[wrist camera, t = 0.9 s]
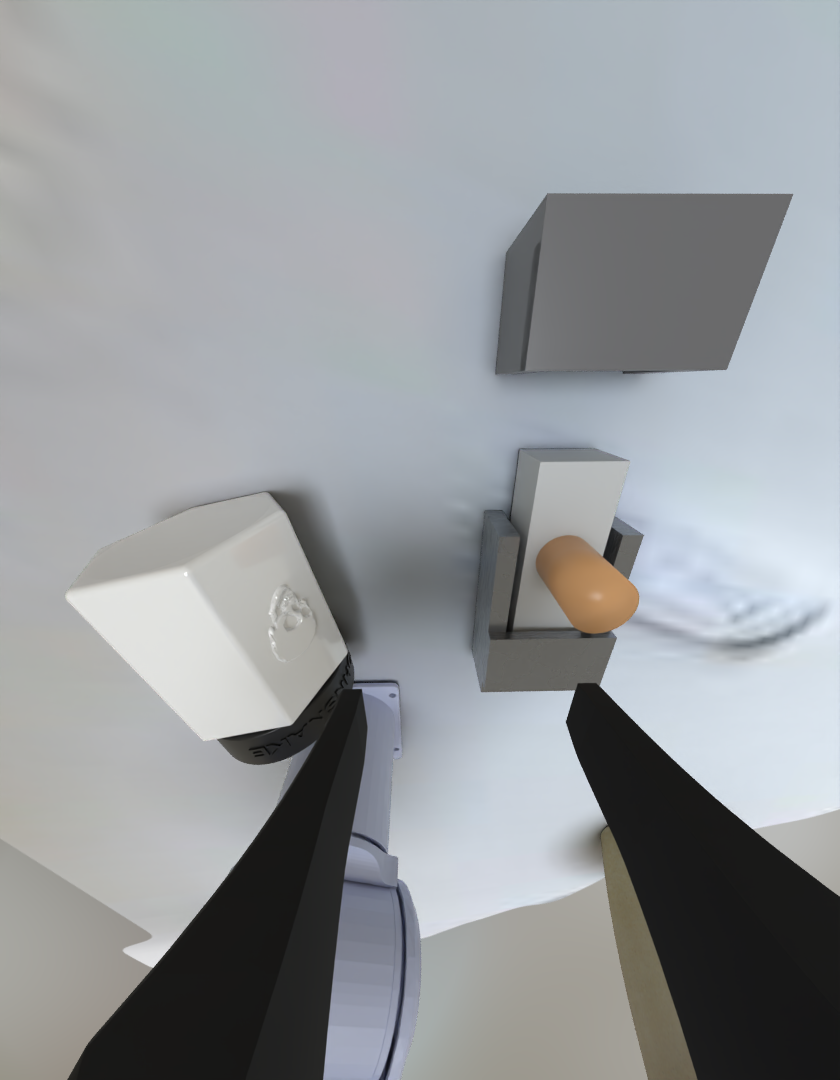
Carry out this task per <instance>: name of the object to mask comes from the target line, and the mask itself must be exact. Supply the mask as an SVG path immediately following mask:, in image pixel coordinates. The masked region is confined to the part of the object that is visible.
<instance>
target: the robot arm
mask: <svg viewBox="0 0 840 1080" xmlns="http://www.w3.org/2000/svg"><path fill="white" fill-rule="evenodd" d="M566 724H567V727H568V730H569V733H570V736H571V740H572V742H573V745H574V748H575V751H576V754H577V757H578V759H579V761H580V764H581V766H582V768H583V771H584V773H585V775H586V777H587V780H588V782H589V784H590V786H591V788H592V791H593V793H594V795H595V797H596V799H597V802H598V804H599V806H600V808H601V810H602V813H603V815H604V817H605V819H606V822H607V824H608V826H609V828H610V830H611V833H612V835H613V837H614V839H615V841H616V844H617V846H618V848H619V851H620V853H621V856H622V858H623V860H624V863H625V866H626V868H627V871H628V874H629V876H630V879H631V882H632V885H633V887H634V890H635V893H636V895H637V898H638V901H639V904H640V906H641V909H642V912H643V915H644V918H645V920H646V923H647V926H648V929H649V932H650V935H651V938H652V940H653V943H654V946H655V949H656V952H657V955H658V958H659V961H660V964H661V967H662V970H663V973H664V976H665V979H666V982H667V985H668V988H669V991H670V994H671V997H672V1000H673V1003H674V1006H675V1009H676V1012H677V1015H678V1018H679V1021H680V1025H681V1028H682V1031H683V1034H684V1038H685V1041H686V1044H687V1047H688V1051H689V1054H690V1057H691V1060H692V1064H693V1067H694V1070H695V1073H696V1077H697V1080H840V897H839V896H838V895H837V894H835V893H834V892H832V891H831V890H830V889H828V888H827V887H826V886H825V885H823V884H822V883H821V882H819V881H818V880H817V879H815V878H814V877H813V876H811V875H810V874H809V873H808V872H806V871H805V870H804V869H802V868H801V867H800V866H798V865H797V864H795V863H794V862H793V861H792V860H791V859H789V858H788V857H787V856H785V855H784V854H783V853H781V852H780V851H779V850H777V849H776V848H775V847H774V846H772V845H771V844H770V843H769V842H767V841H766V840H765V839H764V838H762V837H761V836H760V835H759V834H758V833H756V832H755V831H754V830H753V829H752V828H750V827H749V826H748V825H747V824H745V823H744V822H743V821H742V820H741V819H739V818H738V817H737V816H736V815H735V814H733V813H732V812H731V811H730V810H729V809H727V808H726V807H725V806H724V805H723V804H722V803H720V802H719V801H718V800H717V799H716V798H715V797H714V796H712V795H711V794H710V793H709V792H708V791H707V790H706V789H704V788H703V787H702V786H701V785H700V784H699V783H698V782H697V781H696V780H695V779H693V778H692V777H691V776H690V775H689V774H688V773H687V772H686V771H685V770H684V769H683V768H681V767H680V766H679V765H678V764H677V763H676V762H675V761H674V760H673V759H672V758H671V757H670V756H669V755H668V754H667V753H666V752H665V751H664V750H663V749H662V748H660V747H659V746H658V745H657V744H656V743H655V742H654V741H653V740H652V739H651V738H650V737H649V736H648V735H647V734H646V733H645V732H644V731H643V730H642V729H641V728H640V727H639V726H638V725H637V724H636V723H635V722H634V721H633V720H632V719H631V718H630V717H629V716H628V715H627V714H626V713H625V712H624V711H623V710H622V709H621V708H620V707H619V706H618V705H617V704H616V703H615V702H614V701H613V700H612V698H611V697H610V696H609V695H608V694H607V693H606V692H605V691H604V690H603V689H602V688H601V687H600V686H599V685H598V684H597V683H578V684H577V687H576V690H575V694H574V697H573V700H572V704H571V707H570V710H569V713H568V717H567V720H566ZM401 757H402V738H401V719H400V700H399V686H398V685H397V684H396V683H354V684H353V688H352V689H343V690H342V691H341V692H340V694H339V697H338V699H337V701H336V703H335V706H334V708H333V710H332V712H331V714H330V716H329V718H328V720H327V722H326V724H325V726H324V728H323V729H322V731H321V733H320V735H319V737H318V739H317V740H316V741H315V742H314V743H313V744H311V745H310V746H308V747H307V748H305V749H304V750H302V751H301V752H299V753H297V754H295V755H293V757H292V760H291V763H290V766H289V769H288V772H287V775H286V778H285V781H284V784H283V788H282V791H281V794H280V797H279V800H278V803H277V806H276V808H275V810H274V811H273V813H272V814H271V816H270V817H269V819H268V820H267V822H266V823H265V825H264V826H263V828H262V829H261V830H260V832H259V833H258V835H257V836H256V838H255V839H254V840H253V842H252V843H251V845H250V846H249V847H248V849H247V850H246V851H245V853H244V854H243V855H242V857H241V858H240V860H239V861H238V862H237V864H236V865H235V866H234V867H233V868H232V869H231V870H230V872H229V874H228V876H227V877H226V878H225V880H224V881H223V882H222V884H221V885H220V886H219V888H218V889H217V890H216V892H215V893H214V894H213V895H212V897H211V898H210V899H209V900H208V902H207V903H206V904H205V905H204V907H203V908H202V909H201V910H200V912H199V913H198V914H197V915H196V917H195V918H194V919H193V920H192V921H191V923H190V924H189V925H188V926H187V928H186V929H185V930H184V931H183V933H182V934H181V935H180V936H179V938H178V939H177V940H176V941H175V943H174V944H173V945H172V946H171V947H170V949H169V950H168V951H167V952H166V953H165V955H164V956H163V957H162V958H161V959H160V961H159V962H158V963H157V964H156V965H155V967H154V968H153V969H152V970H151V971H150V972H149V974H148V975H147V976H146V977H145V978H144V979H143V981H142V982H141V983H140V984H139V985H138V986H137V987H136V988H135V990H134V991H133V992H132V993H131V994H130V995H129V996H128V998H127V999H126V1000H125V1001H124V1002H123V1003H122V1005H121V1006H120V1007H119V1008H118V1009H117V1010H116V1011H115V1013H114V1014H113V1015H112V1016H111V1017H110V1018H109V1020H108V1021H107V1022H106V1023H105V1024H104V1025H103V1027H102V1028H101V1029H100V1030H99V1031H98V1032H97V1033H96V1035H95V1036H94V1037H93V1038H92V1039H91V1041H90V1042H89V1043H88V1045H87V1046H86V1048H85V1050H84V1051H83V1053H82V1055H81V1057H80V1058H79V1060H78V1062H77V1064H76V1065H75V1067H74V1069H73V1071H72V1072H71V1074H70V1076H69V1078H68V1080H401V1077H402V1073H403V1069H404V1065H405V1062H406V1059H407V1056H408V1054H409V1050H410V1047H411V1043H412V1040H413V1036H414V1031H415V1026H416V1021H417V1014H418V1006H419V997H420V985H421V943H420V942H421V941H420V930H419V923H418V918H417V913H416V909H415V906H414V904H413V901H412V898H411V894H410V892H409V890H408V887H407V885H406V884H405V883H404V882H403V881H402V880H400V879H397V877H398V858H397V857H396V856H391V855H389V854H388V841H389V823H390V805H391V787H392V769H393V759H400V758H401Z"/></svg>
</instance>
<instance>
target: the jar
mask: <svg viewBox="0 0 840 1080" xmlns="http://www.w3.org/2000/svg"><path fill="white" fill-rule="evenodd" d="M65 598H66V600H67V601H68V602H69V603H70V604H71V605H72V606H73V607H74V608H75V609H76V611H77V612H78V613H79V614H80V615H81V616H82V617H83V618H84V619H85V620H86V621H87V622H88V623H89V624H90V625H91V626H92V627H93V628H94V629H95V630H96V631H97V632H98V633H99V634H100V635H101V636H102V637H103V638H104V639H105V640H106V641H107V643H108V644H109V645H110V646H111V647H112V648H113V649H114V650H115V651H116V652H117V653H118V654H119V655H120V656H121V657H122V658H123V659H124V660H125V661H126V662H127V663H128V664H129V665H130V666H131V667H132V668H133V669H134V670H135V671H136V672H137V673H138V675H139V676H140V677H141V678H142V679H143V680H144V681H145V682H146V683H147V684H148V685H149V686H150V687H151V688H152V689H153V690H154V691H155V692H156V693H157V694H158V695H159V696H160V697H161V698H162V699H163V700H164V701H165V702H166V703H167V704H168V706H169V707H170V708H171V709H172V710H173V711H174V712H175V713H176V714H177V715H178V716H179V717H180V718H181V719H182V720H183V721H184V722H185V723H186V724H187V725H188V726H189V727H190V728H191V729H192V730H193V731H194V732H195V733H196V734H197V735H198V737H199V738H200V739H201V740H203V741H209V740H215V739H217V740H218V741H219V742H220V743H221V744H222V746H223V747H224V748H225V749H226V750H227V751H228V752H229V753H230V754H231V755H232V756H233V757H234V758H236V759H237V760H239V761H241V762H244V763H247V764H253V765H262V764H270V763H275V762H278V761H281V760H284V759H286V758H289V757H291V756H293V755H295V754H297V753H299V752H301V751H302V750H304V749H305V748H307V747H308V746H310V745H311V744H313V743H314V742H315V741H316V740H317V739H318V737H319V735H320V733H321V731H322V729H323V728H324V726H325V724H326V722H327V720H328V718H329V716H330V714H331V712H332V710H333V708H334V706H335V703H336V701H337V699H338V697H339V694H340V692H341V691H342V690H343V689H352V688H353V684H354V666H353V663H352V660H351V657H350V656H351V655H350V653H349V650H348V648H347V646H346V643H344V640H343V638H342V636H341V634H340V631H339V629H338V627H337V625H336V623H335V620H334V618H333V616H332V614H331V611H330V609H329V607H328V605H327V603H326V600H325V598H324V596H323V594H322V591H321V589H320V587H319V585H318V583H317V580H316V578H315V576H314V574H313V571H312V569H311V567H310V565H309V562H308V560H307V558H306V556H305V554H304V551H303V549H302V547H301V545H300V542H299V540H298V538H297V536H296V534H295V531H294V529H293V527H292V525H291V522H290V520H289V518H288V516H287V514H286V512H285V511H284V510H283V509H282V508H281V506H280V505H279V504H278V503H277V502H276V501H275V499H274V498H273V497H272V496H271V495H270V494H269V493H267V492H262V493H258V494H253V495H249V496H244V497H240V498H235V499H231V500H226V501H221V502H217V503H212V504H208V505H203V506H198V507H194V508H190V509H188V510H186V511H184V512H181V513H179V514H177V515H175V516H173V517H170V518H168V519H166V520H164V521H161V522H159V523H157V524H155V525H153V526H150V527H148V528H146V529H144V530H141V531H139V532H137V533H135V534H133V535H130V536H128V537H126V538H124V539H121V540H119V541H117V542H115V543H112V544H110V545H108V546H106V547H103V548H101V549H100V550H98V551H97V553H96V554H95V556H94V557H93V558H92V559H91V561H90V562H89V563H88V565H87V566H86V567H85V568H84V570H83V571H82V572H81V574H80V575H79V576H78V578H77V579H76V580H75V581H74V583H73V584H72V585H71V586H70V588H69V589H68V590H67V591H66V593H65Z"/></svg>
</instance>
